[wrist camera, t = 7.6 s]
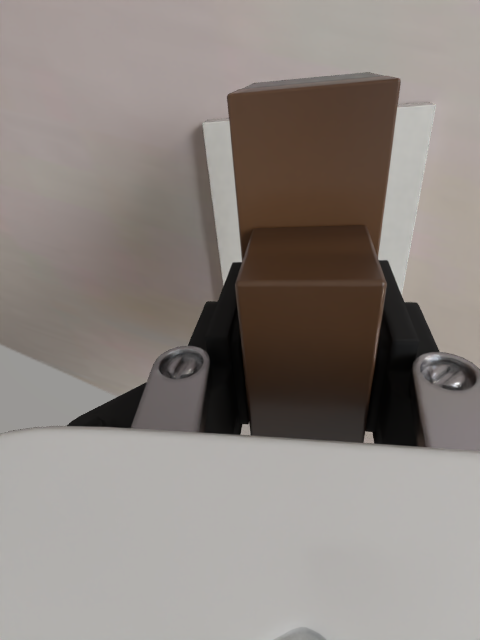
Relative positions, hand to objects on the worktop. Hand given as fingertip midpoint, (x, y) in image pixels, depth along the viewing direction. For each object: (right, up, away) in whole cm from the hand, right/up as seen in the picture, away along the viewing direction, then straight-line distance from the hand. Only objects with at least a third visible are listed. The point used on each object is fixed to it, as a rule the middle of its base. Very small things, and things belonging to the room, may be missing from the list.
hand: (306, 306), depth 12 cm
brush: (0, +1, +1) cm, 1 cm away
